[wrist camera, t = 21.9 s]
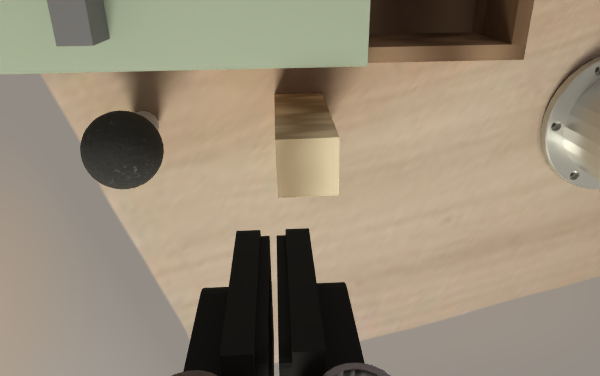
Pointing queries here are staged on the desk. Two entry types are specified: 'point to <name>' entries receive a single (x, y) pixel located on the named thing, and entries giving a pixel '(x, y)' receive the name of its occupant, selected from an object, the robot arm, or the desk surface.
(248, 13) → the lid
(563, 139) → the robot arm
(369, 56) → the brown wooden box
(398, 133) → the desk surface
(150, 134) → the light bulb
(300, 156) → the block
